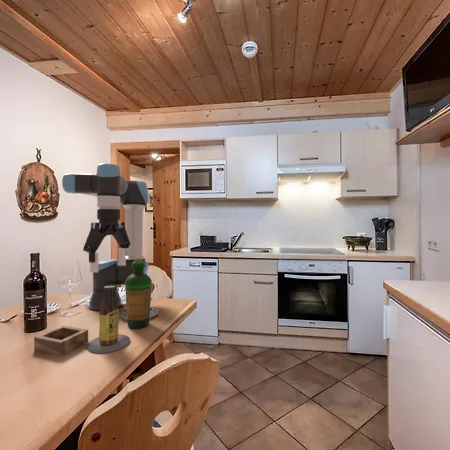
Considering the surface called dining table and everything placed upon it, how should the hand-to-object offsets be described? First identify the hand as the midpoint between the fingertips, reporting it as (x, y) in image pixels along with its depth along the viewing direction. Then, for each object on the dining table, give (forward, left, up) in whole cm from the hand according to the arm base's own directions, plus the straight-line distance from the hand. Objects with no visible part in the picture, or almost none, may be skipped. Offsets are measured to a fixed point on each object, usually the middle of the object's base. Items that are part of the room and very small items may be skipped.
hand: (109, 268), depth 98 cm
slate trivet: (0, 0, -27) cm, 27 cm away
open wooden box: (+7, -14, -27) cm, 31 cm away
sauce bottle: (0, 0, -27) cm, 27 cm away
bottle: (-18, -1, -27) cm, 32 cm away
